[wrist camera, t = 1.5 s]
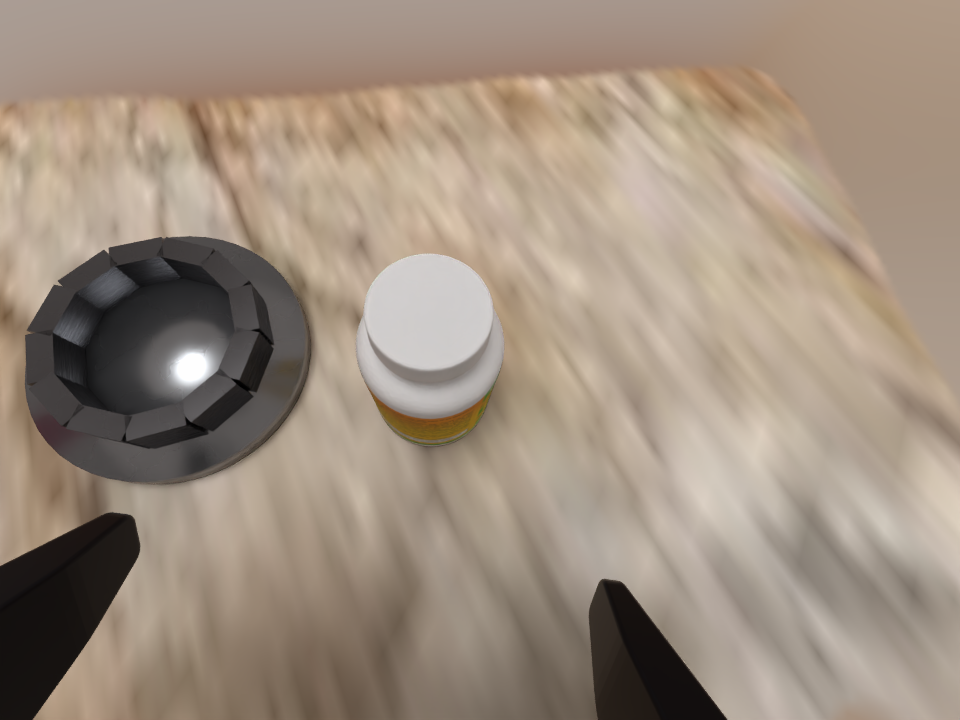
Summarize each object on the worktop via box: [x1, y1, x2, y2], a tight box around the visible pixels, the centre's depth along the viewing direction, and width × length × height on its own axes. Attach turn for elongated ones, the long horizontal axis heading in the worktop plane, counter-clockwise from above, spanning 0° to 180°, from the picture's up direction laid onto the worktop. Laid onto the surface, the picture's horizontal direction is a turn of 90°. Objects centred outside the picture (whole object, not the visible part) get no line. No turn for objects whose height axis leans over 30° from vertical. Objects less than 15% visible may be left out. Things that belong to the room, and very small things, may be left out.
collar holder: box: [25, 236, 311, 484], centre depth 22 cm, size 12×12×3 cm
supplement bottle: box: [356, 254, 504, 446], centre depth 19 cm, size 5×5×10 cm
